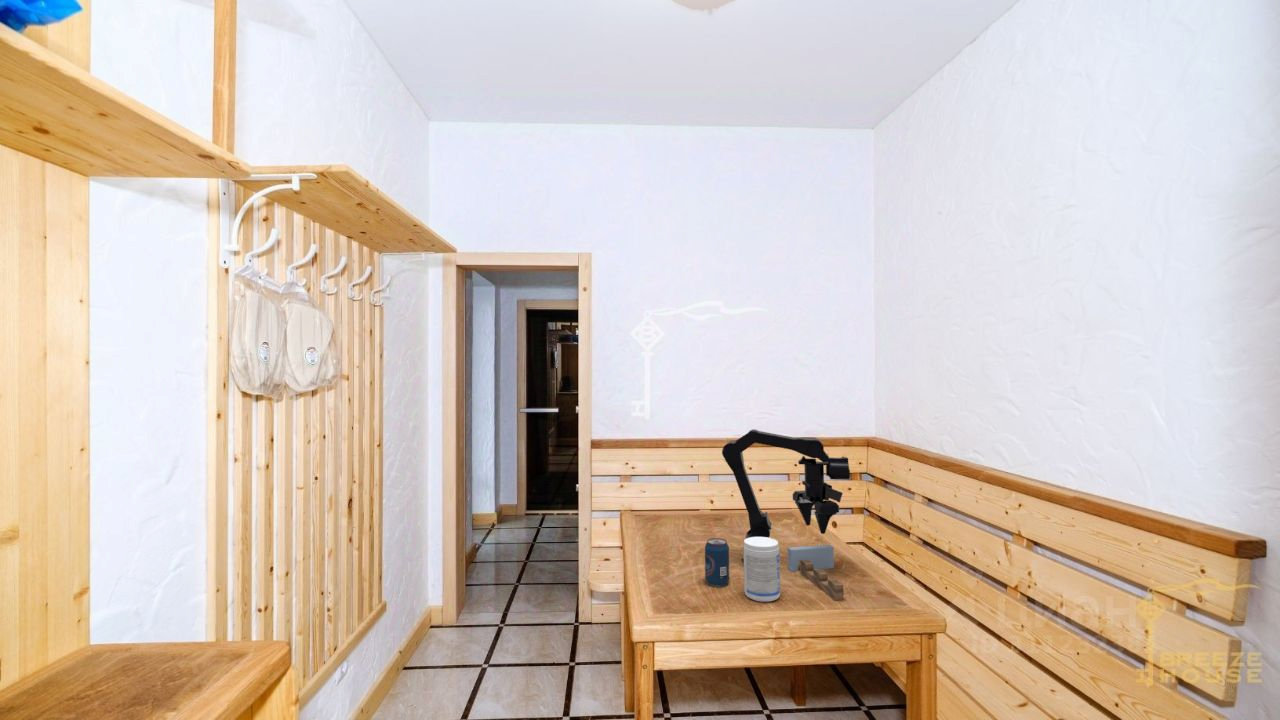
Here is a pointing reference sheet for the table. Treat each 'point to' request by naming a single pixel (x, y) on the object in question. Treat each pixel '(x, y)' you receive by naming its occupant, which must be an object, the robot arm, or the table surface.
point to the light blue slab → (811, 556)
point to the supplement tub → (761, 569)
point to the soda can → (717, 562)
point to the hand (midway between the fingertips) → (815, 529)
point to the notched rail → (822, 580)
